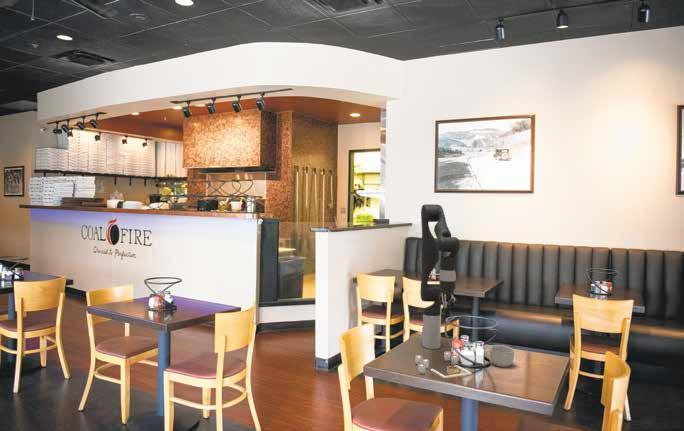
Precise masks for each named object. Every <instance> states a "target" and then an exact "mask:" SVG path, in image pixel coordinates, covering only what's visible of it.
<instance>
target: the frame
mask: <svg viewBox="0 0 684 431" xmlns="http://www.w3.org/2000/svg"><path fill="white" fill-rule="evenodd" d="M454 366H456V367H458V368H459V371H462V372H463V373H459V374H455V375H451V374H448V375H444V374H442V373H441V372H439V371H437V370H435V369H434V368H429V369H430V372H433V373H434V374H436V375H438V376H440V377H441V378H442V379H444V380H445V378H446V379H450V378H458V377H464V376H470V375H473V373H472V372H471V371H469V370H467V369H465V368H464V367H461V366H460V365H459V364H458V365H454Z"/></svg>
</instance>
